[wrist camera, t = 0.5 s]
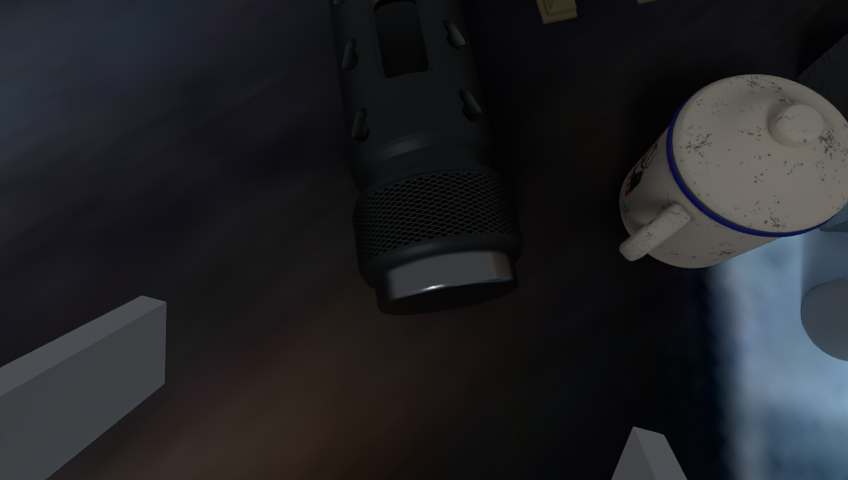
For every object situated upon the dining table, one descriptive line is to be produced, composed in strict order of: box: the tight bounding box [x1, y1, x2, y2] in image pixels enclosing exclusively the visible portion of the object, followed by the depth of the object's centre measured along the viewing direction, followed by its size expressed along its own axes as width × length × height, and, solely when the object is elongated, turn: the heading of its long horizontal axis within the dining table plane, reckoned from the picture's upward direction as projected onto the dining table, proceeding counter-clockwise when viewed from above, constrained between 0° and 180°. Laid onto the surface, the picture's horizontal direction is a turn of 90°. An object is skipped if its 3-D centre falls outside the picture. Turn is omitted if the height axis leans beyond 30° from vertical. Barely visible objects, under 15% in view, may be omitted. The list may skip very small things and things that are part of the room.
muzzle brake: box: [329, 0, 523, 315], centre depth 30 cm, size 10×28×10 cm, turn 10°
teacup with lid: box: [619, 74, 848, 268], centre depth 25 cm, size 12×9×12 cm
